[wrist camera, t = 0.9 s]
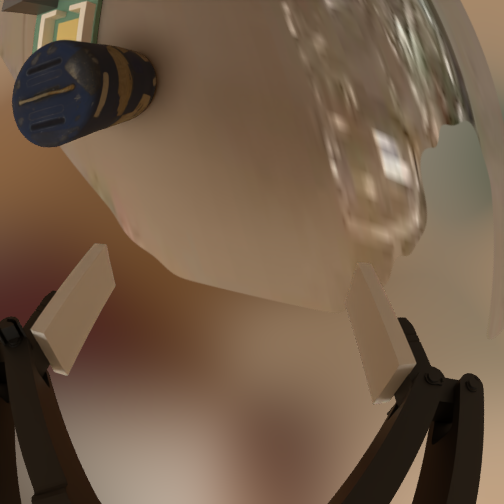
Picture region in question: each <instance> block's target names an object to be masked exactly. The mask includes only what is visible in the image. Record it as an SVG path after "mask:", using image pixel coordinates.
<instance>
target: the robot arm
mask: <svg viewBox="0 0 504 504" xmlns="http://www.w3.org/2000/svg"><path fill="white" fill-rule="evenodd" d="M114 287H115V282H114V277H113V273H112V268H111V264H110V259H109V255H108V249H107V245H106V244H94V245H93V246H92V247H91V249H90V250H89V251H88V252H87V253H86V255H85V256H84V257H83V258H82V260H81V261H80V262H79V263H78V265H77V266H76V267H75V268H74V270H73V271H72V272H71V273H70V275H69V276H68V277H67V279H66V280H65V281H64V283H63V284H62V285H61V287H60V288H59V290H58V291H52V292H51V293H49V294H48V295H47V296H45V298H44V299H43V300H42V302H41V303H40V305H39V306H38V307H37V309H36V311H35V312H34V313H33V314H32V316H31V317H30V319H29V320H28V321H27V323H26V324H25V326H24V327H23V328H22V326H21V324H20V322H19V320H18V319H17V318H16V317H7V318H5V319H3V320H2V321H1V322H0V504H21V498H20V492H19V485H18V476H17V466H16V452H15V429H16V433H17V437H18V441H19V445H20V448H21V452H22V456H23V459H24V462H25V465H26V468H27V471H28V475H29V477H30V480H31V483H32V486H33V488H34V495H33V496H32V504H101V502H100V501H99V499H98V498H97V496H96V494H95V492H94V490H93V488H92V487H91V484H90V482H89V481H88V478H87V476H86V474H85V472H84V470H83V468H82V465H81V463H80V461H79V459H78V457H77V454H76V452H75V449H74V447H73V444H72V442H71V439H70V437H69V434H68V432H67V429H66V426H65V423H64V421H63V418H62V415H61V412H60V409H59V406H58V402H57V399H56V396H55V393H54V389H53V386H52V382H51V379H50V375H49V372H48V371H47V368H48V366H49V365H51V366H52V368H53V370H54V372H57V373H60V374H64V375H66V376H68V374H69V372H70V370H71V368H72V366H73V364H74V362H75V360H76V358H77V356H78V354H79V351H80V350H81V348H82V346H83V344H84V342H85V340H86V338H87V336H88V334H89V332H90V330H91V328H92V326H93V325H94V323H95V321H96V319H97V317H98V315H99V314H100V312H101V310H102V308H103V306H104V305H105V303H106V301H107V299H108V298H109V296H110V294H111V292H112V291H113V289H114ZM345 305H346V309H347V312H348V315H349V318H350V322H351V325H352V328H353V332H354V335H355V339H356V342H357V345H358V349H359V353H360V356H361V360H362V363H363V367H364V371H365V375H366V378H367V382H368V386H369V390H370V394H371V398H372V402H373V404H379V403H387V402H389V401H390V400H391V398H392V397H393V396H395V399H396V403H395V405H394V406H393V407H392V408H391V410H390V411H389V412H388V413H387V415H388V417H387V418H386V420H385V422H384V424H383V425H382V427H381V429H380V430H379V432H378V434H377V435H376V437H375V438H374V440H373V442H372V443H371V445H370V446H369V448H368V449H367V451H366V452H365V454H364V455H363V457H362V458H361V460H360V461H359V463H358V464H357V466H356V467H355V469H354V470H353V471H352V473H351V474H350V476H349V477H348V478H347V480H346V481H345V482H344V484H343V485H342V486H341V487H340V489H339V490H338V491H337V493H336V494H335V496H333V498H332V499H331V500H330V502H329V503H328V504H389V503H390V502H391V500H392V499H393V497H394V495H395V494H396V492H397V490H398V489H399V487H400V485H401V483H402V482H403V480H404V478H405V476H406V474H407V472H408V471H409V469H410V467H411V465H412V463H413V461H414V459H415V457H416V455H417V453H418V450H419V449H420V447H421V444H422V442H423V440H424V438H425V436H426V433H427V431H428V429H429V431H428V437H427V443H426V448H425V453H424V458H423V463H422V467H421V472H420V476H419V480H418V484H417V488H416V491H415V495H414V498H413V502H412V504H476V500H477V494H478V487H479V481H480V473H481V463H482V451H483V435H484V393H483V392H484V391H483V384H482V382H481V380H480V379H479V378H478V377H477V376H476V375H473V374H470V373H467V374H464V375H463V376H462V377H461V379H460V380H455V379H449V378H445V377H444V375H443V374H442V372H441V371H440V370H439V369H437V368H435V367H432V366H431V365H430V363H429V360H428V358H427V356H426V353H425V351H424V349H423V347H422V345H421V342H419V338H418V336H417V335H416V332H415V329H414V327H413V326H412V324H411V323H410V322H409V321H408V320H407V319H406V318H397V316H396V314H395V312H394V310H393V308H392V306H391V303H390V301H389V299H388V297H387V295H386V293H385V291H384V289H383V287H382V285H381V283H380V281H379V279H378V277H377V275H376V273H375V271H374V269H373V267H372V265H371V263H362V262H357V265H356V268H355V272H354V275H353V278H352V282H351V285H350V288H349V291H348V294H347V298H346V301H345Z"/></svg>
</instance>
